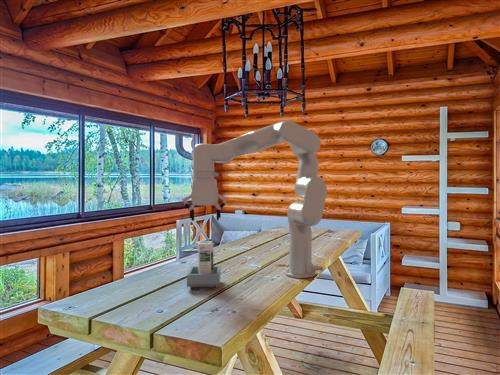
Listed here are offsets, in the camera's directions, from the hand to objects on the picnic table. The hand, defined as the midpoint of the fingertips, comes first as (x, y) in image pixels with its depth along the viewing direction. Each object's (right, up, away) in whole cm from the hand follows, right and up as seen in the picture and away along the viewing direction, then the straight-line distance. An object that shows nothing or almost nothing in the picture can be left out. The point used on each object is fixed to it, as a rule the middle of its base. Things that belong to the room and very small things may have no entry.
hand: (205, 220), depth 146 cm
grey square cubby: (-1, -26, +1) cm, 26 cm away
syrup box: (0, -23, +1) cm, 23 cm away
